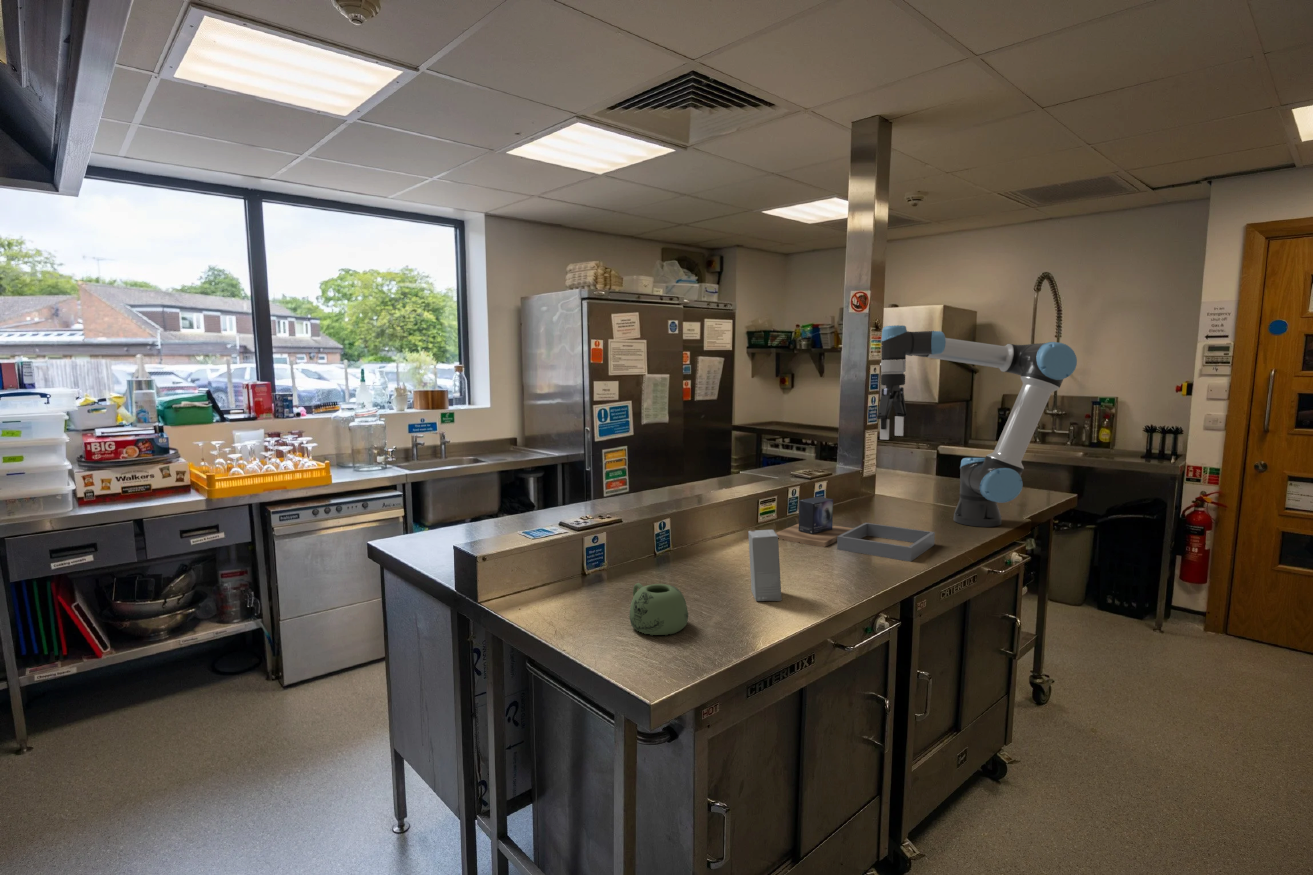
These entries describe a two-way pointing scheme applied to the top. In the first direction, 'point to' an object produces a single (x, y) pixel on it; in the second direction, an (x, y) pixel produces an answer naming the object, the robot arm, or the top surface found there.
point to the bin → (856, 544)
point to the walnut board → (812, 535)
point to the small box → (815, 515)
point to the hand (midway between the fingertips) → (891, 437)
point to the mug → (658, 609)
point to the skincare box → (764, 565)
